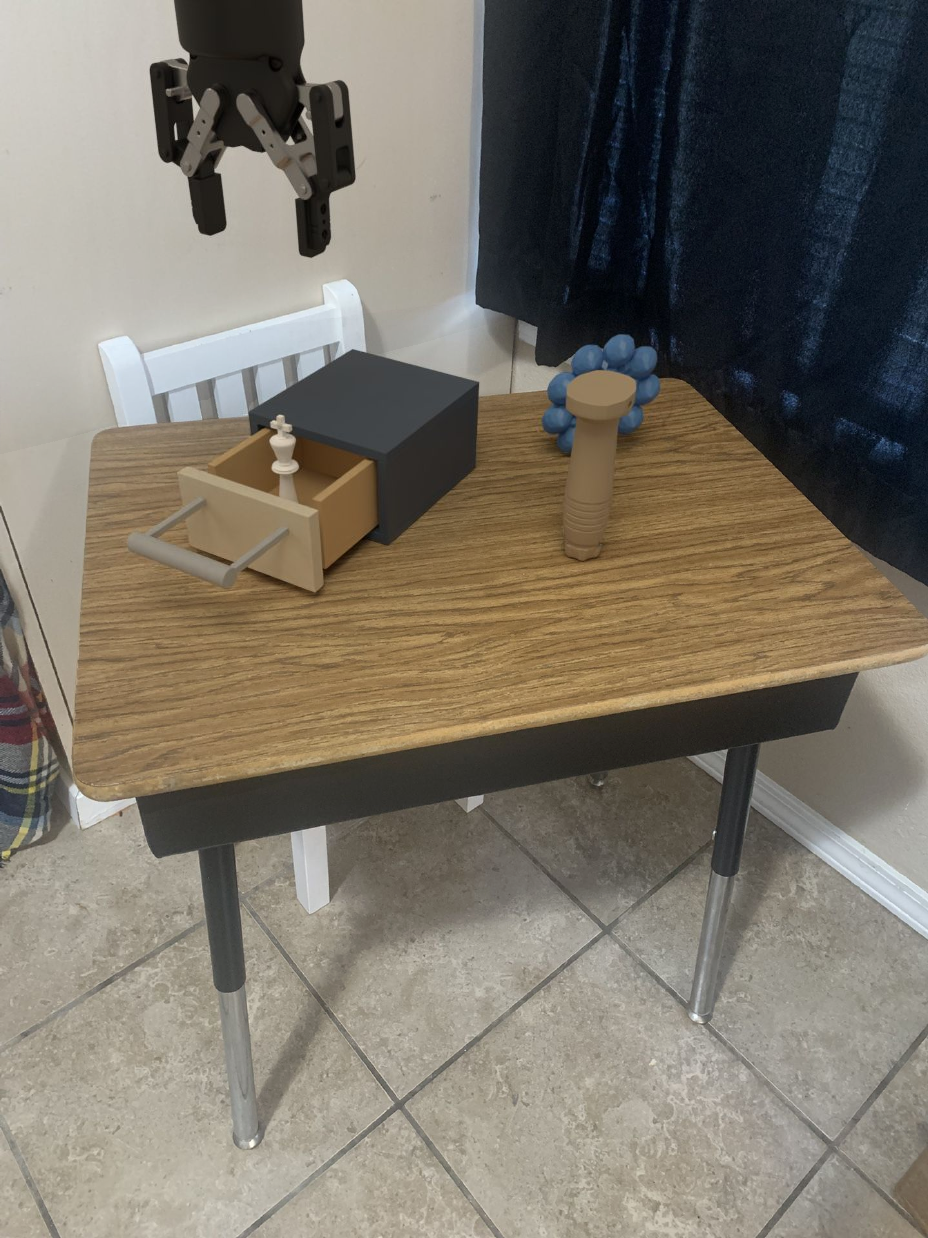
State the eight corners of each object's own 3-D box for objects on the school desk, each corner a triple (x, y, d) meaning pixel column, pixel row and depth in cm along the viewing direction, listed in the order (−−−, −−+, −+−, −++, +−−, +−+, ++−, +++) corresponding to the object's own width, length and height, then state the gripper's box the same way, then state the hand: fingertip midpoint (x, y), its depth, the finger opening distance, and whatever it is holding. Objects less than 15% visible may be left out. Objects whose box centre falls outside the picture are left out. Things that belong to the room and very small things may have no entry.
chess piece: (283, 505, 84) (272, 396, 78) (332, 520, 82) (325, 410, 76) (248, 532, 80) (234, 421, 74) (299, 549, 79) (288, 436, 72)
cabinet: (388, 545, 83) (386, 453, 78) (258, 501, 88) (247, 411, 83) (476, 467, 94) (479, 381, 89) (356, 431, 99) (352, 348, 94)
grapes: (634, 427, 102) (651, 314, 94) (659, 458, 97) (679, 341, 89) (526, 436, 99) (535, 321, 92) (546, 469, 94) (557, 350, 87)
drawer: (251, 648, 71) (240, 569, 66) (120, 594, 75) (102, 517, 71) (412, 507, 86) (412, 437, 82) (295, 470, 91) (289, 401, 86)
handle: (622, 542, 84) (647, 379, 75) (591, 579, 80) (614, 411, 71) (571, 526, 86) (590, 365, 77) (538, 561, 82) (554, 395, 73)
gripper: (372, -37, 57) (379, 247, 67) (184, -54, 62) (216, 212, 72) (295, -28, 52) (315, 278, 62) (96, -48, 57) (144, 238, 67)
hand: (261, 242), depth 67 cm, fingers open, 8 cm apart
